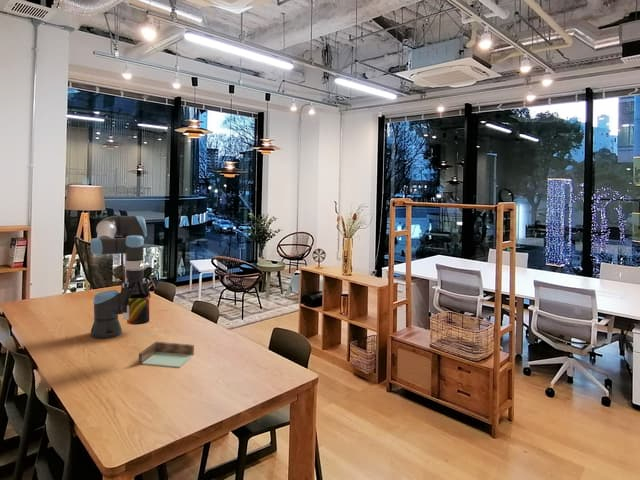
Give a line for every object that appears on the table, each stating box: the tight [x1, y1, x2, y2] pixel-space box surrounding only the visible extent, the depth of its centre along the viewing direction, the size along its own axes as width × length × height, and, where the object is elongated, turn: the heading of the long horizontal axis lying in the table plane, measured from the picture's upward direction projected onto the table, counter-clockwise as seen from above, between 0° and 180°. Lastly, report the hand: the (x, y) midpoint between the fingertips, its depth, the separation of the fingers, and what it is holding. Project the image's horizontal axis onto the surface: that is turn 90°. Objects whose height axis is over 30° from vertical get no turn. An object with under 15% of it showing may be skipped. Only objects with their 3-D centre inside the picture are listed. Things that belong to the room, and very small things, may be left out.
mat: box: [141, 352, 194, 369], centre depth 199 cm, size 18×14×1 cm
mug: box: [126, 294, 150, 326], centre depth 197 cm, size 10×14×12 cm
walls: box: [138, 341, 195, 365], centre depth 199 cm, size 20×16×5 cm
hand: (135, 316), depth 197 cm, fingers closed on mug, 10 cm apart
